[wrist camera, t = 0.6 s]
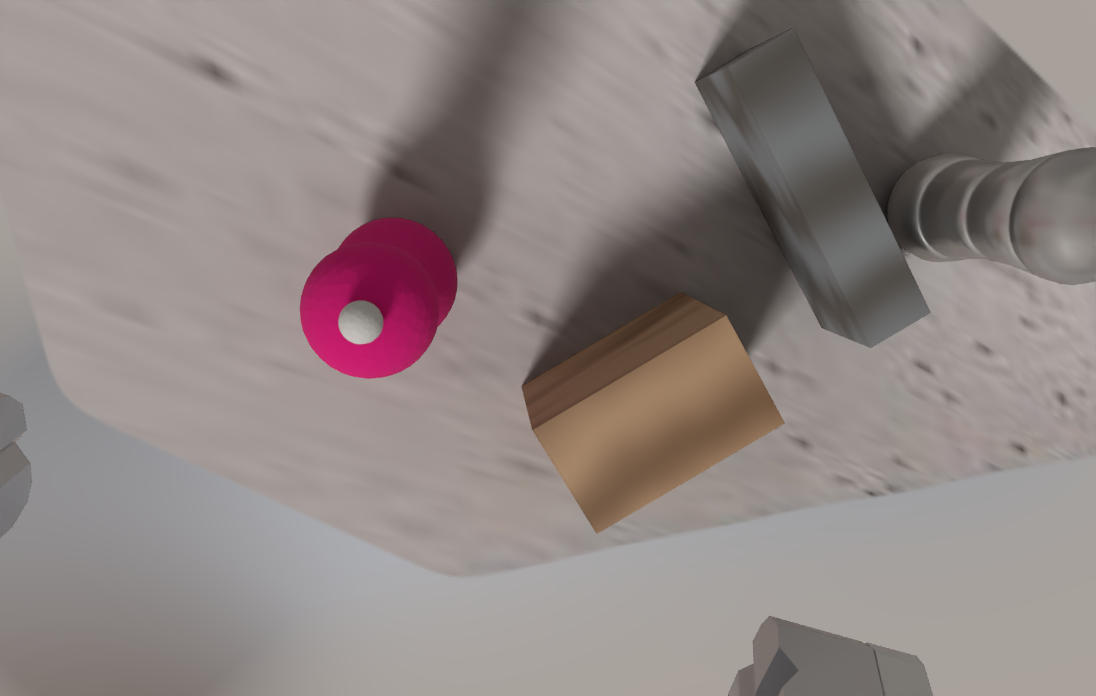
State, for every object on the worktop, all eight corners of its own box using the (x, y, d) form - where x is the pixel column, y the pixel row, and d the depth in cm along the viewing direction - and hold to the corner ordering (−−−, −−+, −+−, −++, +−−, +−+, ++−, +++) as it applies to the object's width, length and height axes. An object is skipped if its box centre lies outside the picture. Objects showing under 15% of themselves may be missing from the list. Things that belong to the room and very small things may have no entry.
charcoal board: (694, 82, 52) (728, 66, 45) (750, 48, 52) (793, 27, 45) (821, 327, 56) (870, 348, 49) (874, 297, 55) (930, 312, 49)
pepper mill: (448, 207, 52) (434, 221, 32) (466, 321, 53) (464, 400, 34) (331, 223, 51) (246, 247, 32) (352, 338, 53) (283, 427, 33)
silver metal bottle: (987, 178, 55) (1275, 174, 35) (940, 274, 56) (1195, 322, 36) (903, 138, 54) (1152, 111, 34) (856, 236, 55) (1072, 264, 35)
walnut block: (521, 386, 55) (532, 430, 45) (680, 291, 54) (726, 315, 45) (574, 472, 56) (596, 533, 46) (729, 381, 56) (784, 423, 46)
